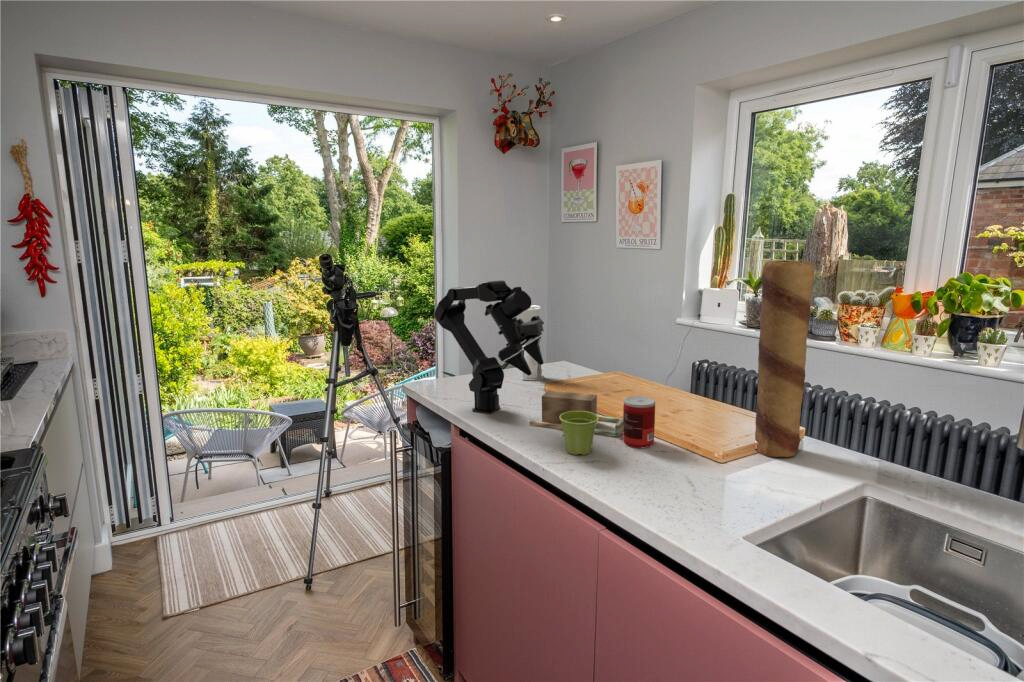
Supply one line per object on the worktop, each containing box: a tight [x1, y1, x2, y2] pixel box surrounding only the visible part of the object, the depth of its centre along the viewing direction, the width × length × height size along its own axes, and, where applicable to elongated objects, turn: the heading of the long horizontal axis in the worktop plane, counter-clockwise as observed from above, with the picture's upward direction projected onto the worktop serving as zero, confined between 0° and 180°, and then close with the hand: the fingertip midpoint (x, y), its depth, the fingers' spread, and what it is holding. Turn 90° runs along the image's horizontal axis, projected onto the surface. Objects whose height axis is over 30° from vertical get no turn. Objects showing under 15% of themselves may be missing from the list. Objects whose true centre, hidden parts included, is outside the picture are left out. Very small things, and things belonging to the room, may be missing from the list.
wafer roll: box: [754, 259, 815, 459], centre depth 133 cm, size 10×11×45 cm
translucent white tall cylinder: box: [520, 304, 545, 382], centre depth 206 cm, size 8×8×28 cm
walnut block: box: [541, 390, 598, 424], centre depth 159 cm, size 14×6×8 cm, turn 68°
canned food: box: [622, 395, 656, 449], centre depth 142 cm, size 8×8×11 cm
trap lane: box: [529, 415, 623, 438], centre depth 158 cm, size 25×22×3 cm
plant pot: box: [559, 411, 600, 456], centre depth 138 cm, size 9×9×9 cm
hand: (536, 369), depth 161 cm, fingers open, 9 cm apart
